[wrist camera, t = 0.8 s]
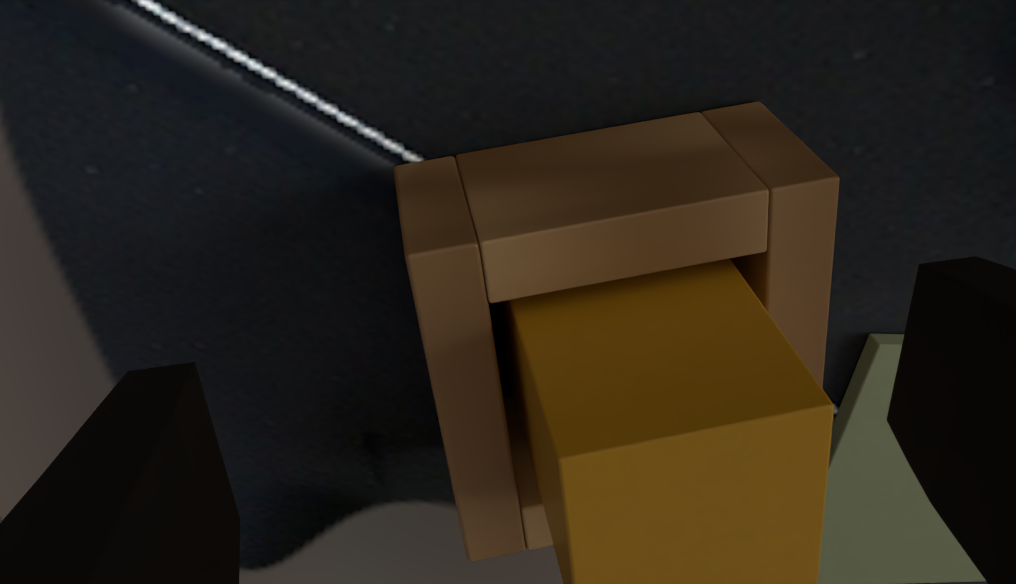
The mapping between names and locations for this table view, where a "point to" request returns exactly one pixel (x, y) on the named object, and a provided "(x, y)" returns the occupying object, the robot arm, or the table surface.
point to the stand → (597, 263)
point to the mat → (881, 492)
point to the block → (671, 430)
